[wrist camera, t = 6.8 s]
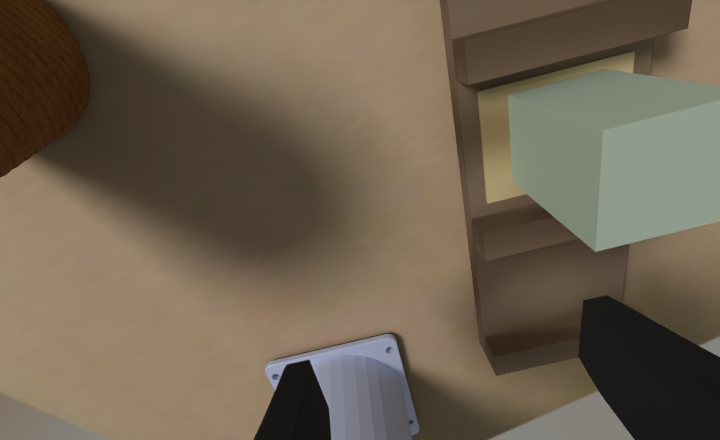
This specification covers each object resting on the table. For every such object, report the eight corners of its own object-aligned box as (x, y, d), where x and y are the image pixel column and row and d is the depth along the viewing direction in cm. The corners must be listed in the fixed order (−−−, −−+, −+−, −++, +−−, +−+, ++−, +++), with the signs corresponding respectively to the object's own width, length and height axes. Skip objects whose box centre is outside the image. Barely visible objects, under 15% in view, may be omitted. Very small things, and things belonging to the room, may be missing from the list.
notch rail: (608, 312, 23) (637, 343, 21) (479, 342, 23) (496, 375, 21) (671, -318, 11) (755, -402, 9) (411, -242, 12) (431, -305, 9)
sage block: (599, 160, 17) (722, 220, 12) (512, 182, 17) (595, 251, 12) (604, 68, 15) (753, 91, 10) (507, 94, 15) (602, 130, 10)
